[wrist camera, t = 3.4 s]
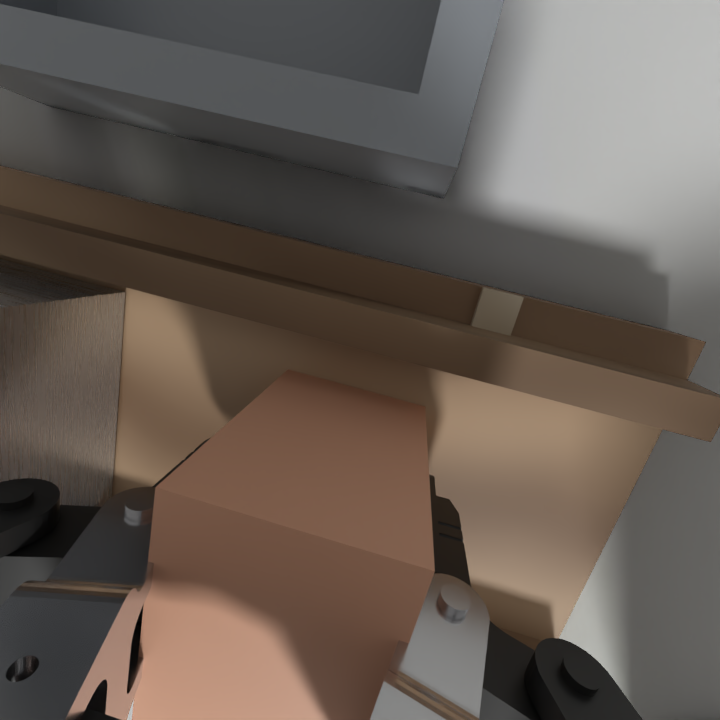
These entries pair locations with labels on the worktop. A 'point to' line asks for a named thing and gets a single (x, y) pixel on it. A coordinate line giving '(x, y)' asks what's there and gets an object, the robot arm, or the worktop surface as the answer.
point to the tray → (268, 75)
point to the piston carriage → (59, 381)
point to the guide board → (379, 373)
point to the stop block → (288, 559)
